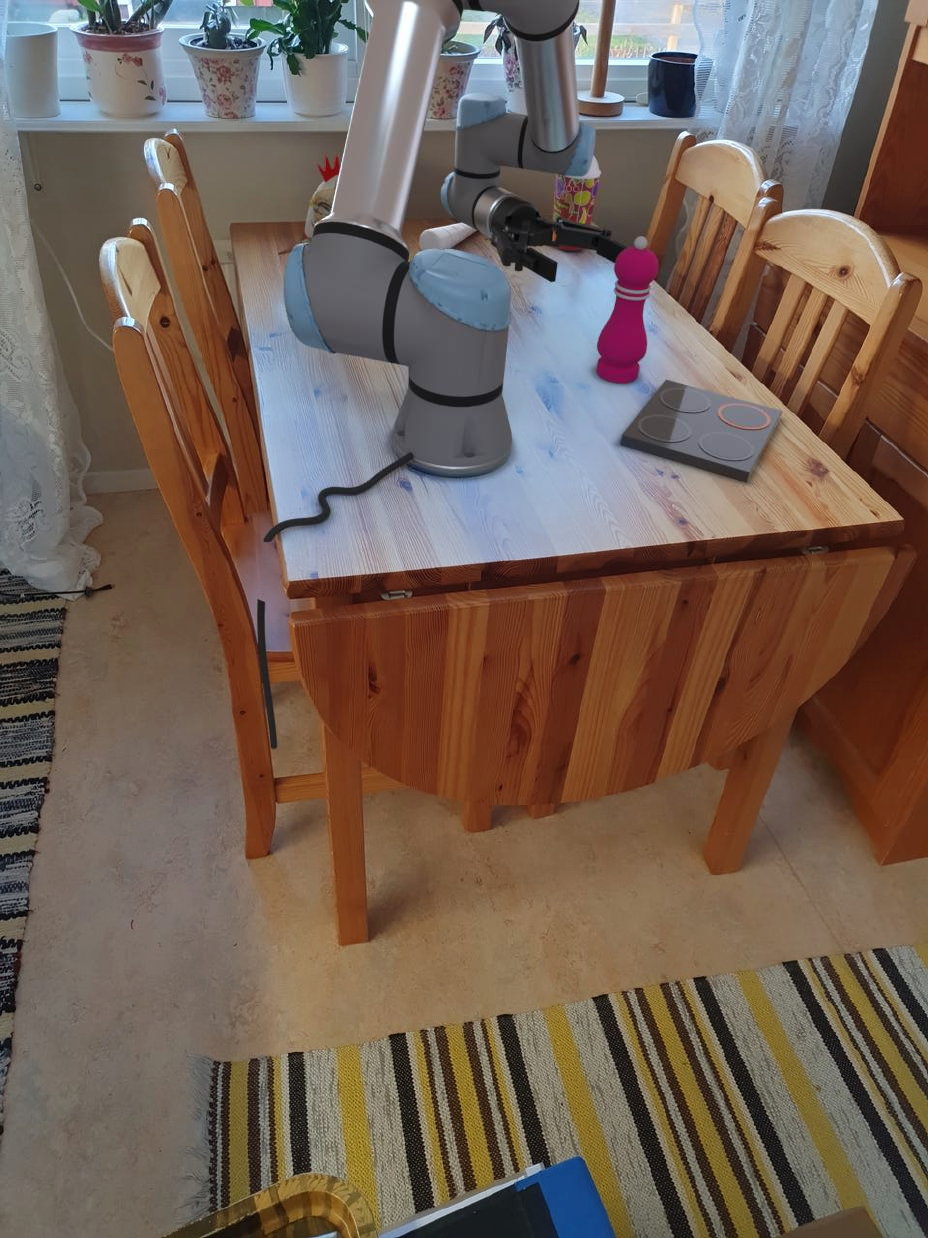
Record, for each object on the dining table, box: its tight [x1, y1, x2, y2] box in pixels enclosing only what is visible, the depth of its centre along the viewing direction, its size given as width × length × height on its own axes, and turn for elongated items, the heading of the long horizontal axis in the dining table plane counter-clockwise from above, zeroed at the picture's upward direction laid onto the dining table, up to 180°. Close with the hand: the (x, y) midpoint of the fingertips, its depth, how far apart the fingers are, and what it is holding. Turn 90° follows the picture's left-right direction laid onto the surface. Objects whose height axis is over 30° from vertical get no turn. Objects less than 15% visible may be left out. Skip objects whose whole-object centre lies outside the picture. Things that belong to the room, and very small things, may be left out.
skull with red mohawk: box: [304, 154, 341, 239], centre depth 168 cm, size 14×14×15 cm
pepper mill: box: [595, 235, 659, 384], centre depth 131 cm, size 7×7×20 cm
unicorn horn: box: [418, 222, 478, 252], centre depth 175 cm, size 5×24×5 cm, turn 149°
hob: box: [619, 379, 783, 483], centre depth 125 cm, size 19×17×2 cm
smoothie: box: [552, 154, 602, 252], centre depth 172 cm, size 8×8×20 cm
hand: (591, 265), depth 134 cm, fingers open, 13 cm apart
